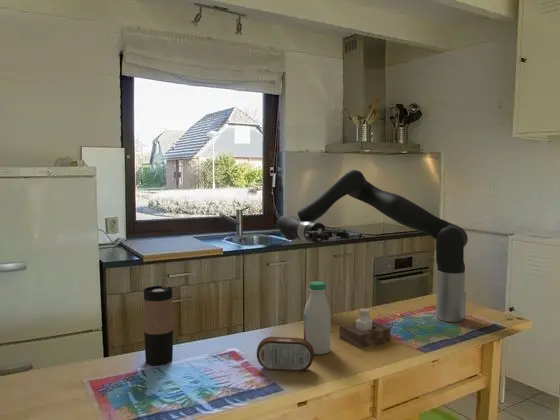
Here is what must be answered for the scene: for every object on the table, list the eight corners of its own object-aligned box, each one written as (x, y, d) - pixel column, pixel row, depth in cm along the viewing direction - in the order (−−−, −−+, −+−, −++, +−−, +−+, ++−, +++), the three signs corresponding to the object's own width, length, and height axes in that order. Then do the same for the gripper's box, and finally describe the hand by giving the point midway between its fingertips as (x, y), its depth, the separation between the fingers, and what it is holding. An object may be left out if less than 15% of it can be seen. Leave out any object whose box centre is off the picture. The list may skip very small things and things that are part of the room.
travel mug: (148, 368, 123) (146, 293, 122) (142, 358, 130) (140, 287, 128) (176, 363, 127) (175, 290, 125) (169, 353, 133) (168, 284, 132)
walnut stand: (368, 332, 153) (369, 319, 152) (390, 341, 144) (390, 328, 144) (339, 338, 147) (339, 325, 146) (360, 348, 138) (360, 335, 138)
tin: (313, 368, 124) (314, 337, 123) (313, 373, 121) (313, 341, 120) (257, 366, 125) (257, 335, 125) (255, 370, 122) (255, 339, 121)
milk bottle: (335, 350, 137) (336, 282, 135) (319, 357, 131) (319, 287, 130) (314, 343, 142) (315, 278, 140) (298, 350, 136) (298, 282, 135)
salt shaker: (354, 339, 145) (355, 309, 145) (362, 336, 148) (362, 307, 148) (365, 343, 143) (365, 312, 142) (372, 339, 145) (373, 309, 145)
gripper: (295, 222, 171) (321, 226, 157) (327, 220, 178) (354, 224, 164) (295, 243, 171) (321, 249, 157) (327, 240, 178) (354, 246, 164)
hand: (338, 236), depth 160 cm, fingers open, 8 cm apart
